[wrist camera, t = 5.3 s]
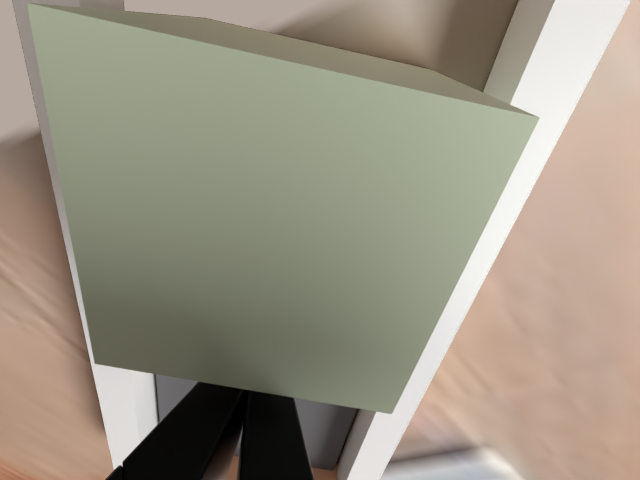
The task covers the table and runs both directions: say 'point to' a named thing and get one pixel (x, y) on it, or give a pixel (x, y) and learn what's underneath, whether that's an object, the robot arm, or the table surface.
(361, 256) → the block
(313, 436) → the grey and orange drawer
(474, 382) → the table surface
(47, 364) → the table surface
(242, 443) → the robot arm
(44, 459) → the table surface
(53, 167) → the channel
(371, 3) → the table surface
